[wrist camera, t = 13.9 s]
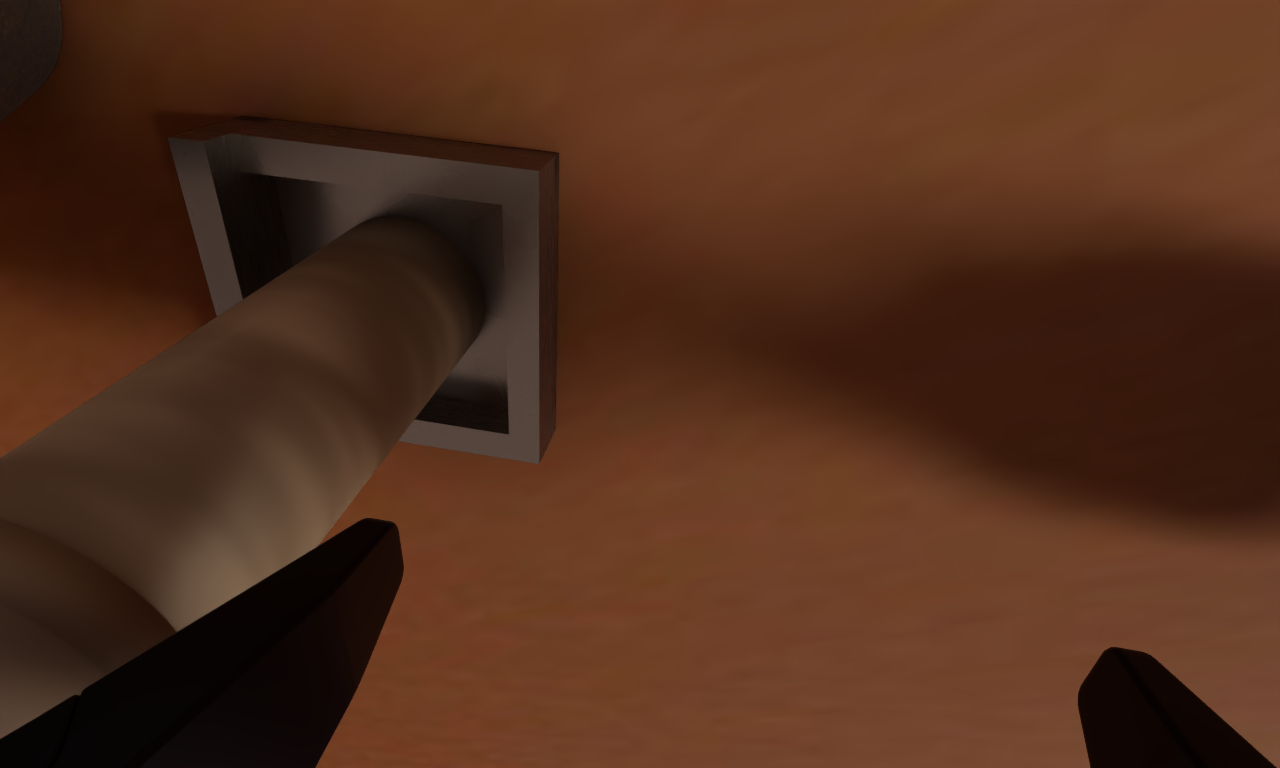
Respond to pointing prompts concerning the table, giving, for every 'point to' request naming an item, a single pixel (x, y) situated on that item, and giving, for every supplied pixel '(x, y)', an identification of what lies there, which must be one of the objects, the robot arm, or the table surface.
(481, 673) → the table surface
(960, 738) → the table surface
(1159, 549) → the table surface
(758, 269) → the table surface
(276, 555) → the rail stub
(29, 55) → the plant pot
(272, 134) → the grey tray
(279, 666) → the robot arm
